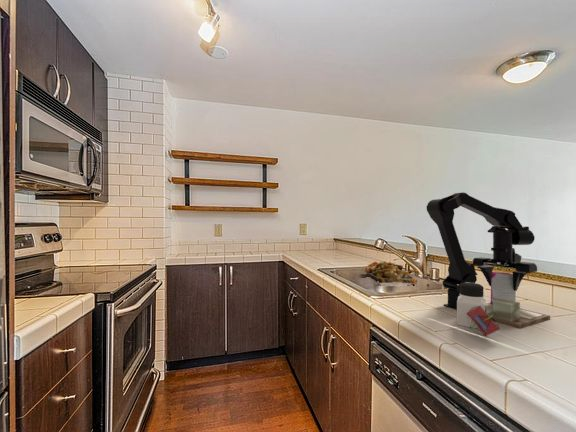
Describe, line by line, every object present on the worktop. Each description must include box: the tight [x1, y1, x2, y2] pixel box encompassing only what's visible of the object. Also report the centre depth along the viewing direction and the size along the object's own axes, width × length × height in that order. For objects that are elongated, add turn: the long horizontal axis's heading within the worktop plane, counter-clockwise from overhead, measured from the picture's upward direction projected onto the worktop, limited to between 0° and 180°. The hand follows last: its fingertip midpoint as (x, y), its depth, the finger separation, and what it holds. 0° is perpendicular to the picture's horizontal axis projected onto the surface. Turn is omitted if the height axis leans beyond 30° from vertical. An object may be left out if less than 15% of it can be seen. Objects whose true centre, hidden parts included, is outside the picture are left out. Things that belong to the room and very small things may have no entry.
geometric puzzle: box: [466, 306, 501, 337], centre depth 80 cm, size 7×7×8 cm
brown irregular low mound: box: [364, 260, 430, 287], centre depth 154 cm, size 35×26×11 cm
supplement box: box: [490, 271, 517, 304], centre depth 108 cm, size 6×6×12 cm
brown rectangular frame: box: [486, 299, 551, 329], centre depth 94 cm, size 18×10×6 cm, turn 117°
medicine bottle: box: [456, 282, 487, 330], centre depth 89 cm, size 7×7×12 cm
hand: (502, 288), depth 108 cm, fingers closed on supplement box, 8 cm apart
